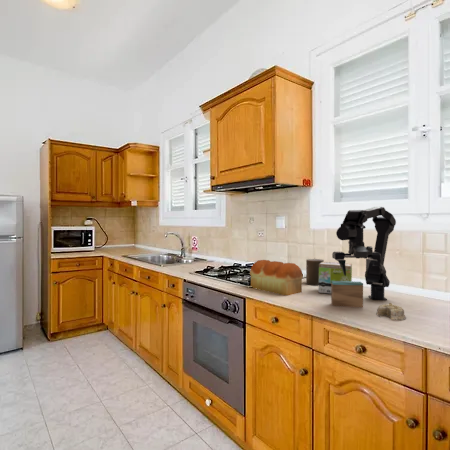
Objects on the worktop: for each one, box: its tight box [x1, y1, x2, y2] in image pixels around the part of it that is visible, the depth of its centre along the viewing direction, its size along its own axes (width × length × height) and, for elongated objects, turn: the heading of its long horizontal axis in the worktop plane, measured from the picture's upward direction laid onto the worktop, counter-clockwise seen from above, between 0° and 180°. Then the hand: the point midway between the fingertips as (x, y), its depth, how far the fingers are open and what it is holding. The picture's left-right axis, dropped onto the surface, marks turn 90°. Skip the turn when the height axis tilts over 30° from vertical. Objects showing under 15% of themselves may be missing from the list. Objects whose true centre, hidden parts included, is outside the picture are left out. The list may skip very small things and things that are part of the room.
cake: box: [376, 302, 407, 321], centre depth 121 cm, size 10×10×5 cm
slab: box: [330, 281, 364, 308], centre depth 136 cm, size 4×12×10 cm, turn 82°
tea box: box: [317, 261, 353, 294], centre depth 161 cm, size 15×10×15 cm
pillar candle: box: [305, 258, 325, 286], centre depth 183 cm, size 10×10×15 cm
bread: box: [249, 259, 304, 296], centre depth 166 cm, size 25×12×15 cm, turn 41°
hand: (356, 275), depth 137 cm, fingers open, 9 cm apart
